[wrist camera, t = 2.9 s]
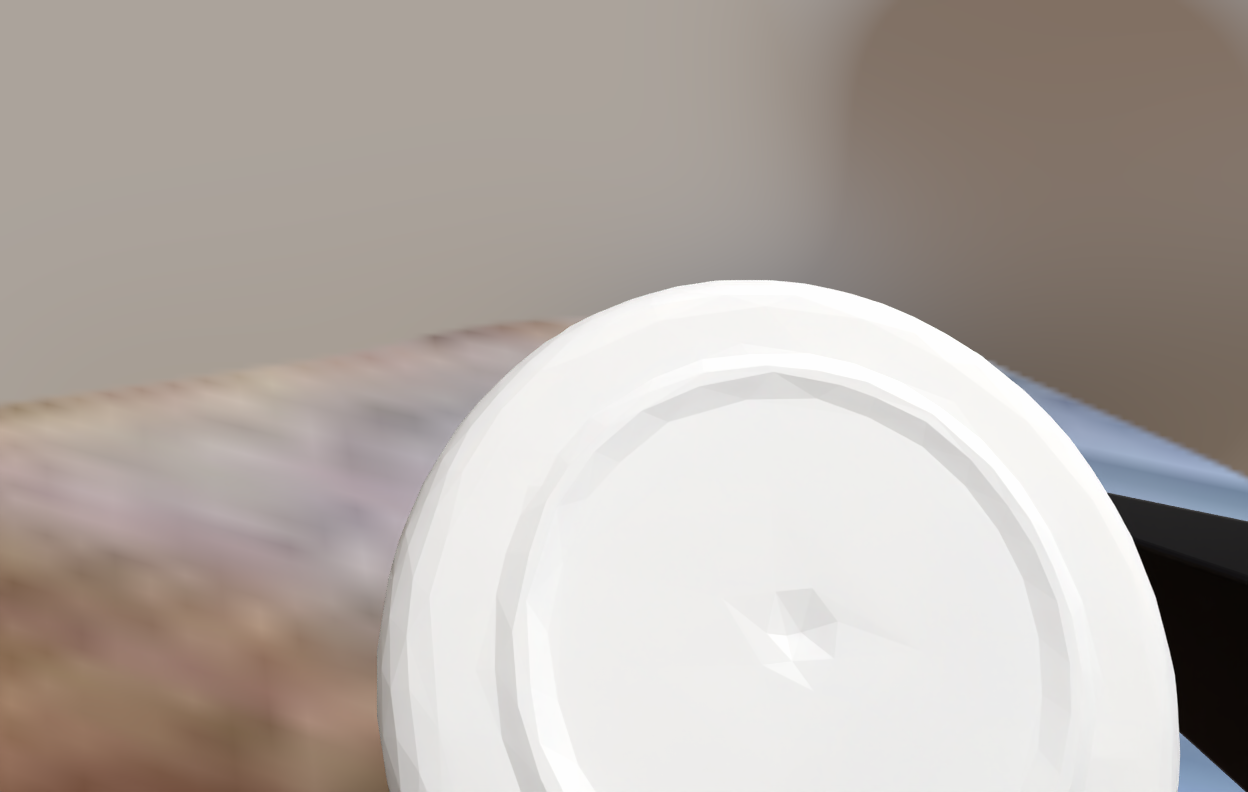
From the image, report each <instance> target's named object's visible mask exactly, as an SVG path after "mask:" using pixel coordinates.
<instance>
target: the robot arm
mask: <svg viewBox="0 0 1248 792" xmlns="http://www.w3.org/2000/svg"><path fill="white" fill-rule="evenodd" d="M1107 494H1108V496H1109V497H1110V499H1111V500H1112V502H1113V504H1114V505H1115V507H1116V509H1117V511H1118V513H1119V514H1120V516H1121V518H1122V520H1123V522H1124V524H1125V525H1126V527H1127V529H1128V531H1129V533H1130V535H1131V536H1132V538H1133V541H1134V544H1135V546H1136V549H1137V551H1138V554H1139V556H1140V559H1141V561H1142V564H1143V566H1144V569H1145V572H1146V574H1147V577H1148V579H1149V582H1150V584H1151V587H1152V589H1153V592H1154V595H1155V597H1156V601H1157V605H1158V608H1159V612H1160V616H1161V620H1162V624H1163V627H1164V631H1165V635H1166V639H1167V643H1168V647H1169V651H1170V655H1171V660H1172V664H1173V669H1174V673H1175V682H1176V692H1177V704H1178V723H1179V732H1180V733H1181V734H1182V735H1183V736H1184V737H1186V738H1187V739H1188V740H1189V741H1190V742H1191V743H1192V744H1193V745H1194V746H1196V747H1197V748H1198V749H1199V750H1200V751H1201V752H1202V753H1203V754H1204V755H1206V756H1207V757H1208V758H1209V759H1210V760H1211V761H1212V762H1213V763H1214V764H1216V765H1217V766H1218V767H1219V768H1220V769H1221V770H1222V771H1223V772H1224V773H1225V774H1227V775H1228V776H1229V777H1230V778H1231V779H1232V780H1233V781H1234V782H1235V783H1237V784H1238V785H1239V786H1240V787H1241V788H1242V789H1243V790H1244V791H1245V792H1248V521H1243V520H1238V519H1233V518H1229V517H1224V516H1219V515H1214V514H1209V513H1204V512H1199V511H1194V510H1190V509H1185V508H1180V507H1175V506H1170V505H1165V504H1160V503H1155V502H1151V501H1146V500H1141V499H1136V498H1131V497H1126V496H1121V495H1116V494H1112V493H1107Z"/></svg>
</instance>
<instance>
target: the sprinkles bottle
mask: <svg viewBox="0 0 1248 792" xmlns="http://www.w3.org/2000/svg"><path fill="white" fill-rule="evenodd" d="M377 719H378V725H379V732H380V738H381V745H382V751H383V758H384V764H385V771H386V777H387V783H388V787H389V791H390V792H1177V790H1178V784H1179V764H1180V742H1179V723H1178V704H1177V692H1176V682H1175V673H1174V669H1173V664H1172V660H1171V655H1170V651H1169V647H1168V643H1167V639H1166V635H1165V631H1164V627H1163V624H1162V620H1161V616H1160V612H1159V608H1158V605H1157V601H1156V597H1155V595H1154V592H1153V589H1152V587H1151V584H1150V582H1149V579H1148V577H1147V574H1146V572H1145V569H1144V566H1143V564H1142V561H1141V559H1140V556H1139V554H1138V551H1137V549H1136V546H1135V544H1134V541H1133V538H1132V536H1131V535H1130V533H1129V531H1128V529H1127V527H1126V525H1125V524H1124V522H1123V520H1122V518H1121V516H1120V514H1119V513H1118V511H1117V509H1116V507H1115V505H1114V504H1113V502H1112V500H1111V499H1110V497H1109V496H1108V494H1107V492H1106V491H1105V489H1104V488H1103V486H1102V484H1101V483H1100V481H1099V480H1098V478H1097V476H1096V475H1095V473H1094V472H1093V470H1092V469H1091V467H1090V466H1089V464H1088V463H1087V462H1086V460H1085V459H1084V457H1083V456H1082V455H1081V453H1080V452H1079V450H1078V449H1077V448H1076V446H1075V445H1074V443H1073V442H1072V441H1071V439H1070V438H1069V437H1068V436H1067V435H1066V434H1065V432H1064V431H1063V430H1062V429H1061V428H1060V427H1059V426H1058V425H1057V423H1056V422H1055V421H1054V420H1053V419H1052V418H1051V417H1050V416H1049V415H1048V414H1047V413H1046V412H1045V411H1044V410H1043V409H1042V408H1041V407H1040V406H1039V405H1038V404H1037V403H1036V402H1035V401H1034V400H1033V399H1032V398H1031V397H1030V396H1029V395H1028V394H1027V393H1026V392H1025V391H1024V390H1023V389H1021V388H1020V387H1019V386H1018V385H1016V384H1015V383H1014V382H1013V381H1012V380H1010V379H1009V378H1008V377H1007V376H1005V375H1004V374H1003V373H1002V372H1000V371H999V370H998V369H997V368H995V367H994V366H993V365H992V364H990V363H989V362H988V361H987V360H986V359H984V358H983V357H982V356H981V355H979V354H977V353H976V352H974V351H973V350H971V349H969V348H968V347H966V346H965V345H963V344H961V343H960V342H958V341H957V340H955V339H953V338H952V337H950V336H949V335H947V334H945V333H943V332H941V331H939V330H937V329H936V328H934V327H932V326H930V325H928V324H926V323H924V322H922V321H920V320H919V319H917V318H914V317H913V316H910V315H908V314H906V313H903V312H901V311H899V310H896V309H894V308H892V307H889V306H887V305H885V304H882V303H878V302H875V301H872V300H869V299H866V298H863V297H859V296H856V295H853V294H849V293H846V292H842V291H837V290H833V289H828V288H824V287H819V286H814V285H808V284H803V283H794V282H783V281H771V280H728V281H711V282H704V283H697V284H691V285H685V286H678V287H673V288H670V289H666V290H662V291H658V292H655V293H651V294H647V295H644V296H641V297H638V298H634V299H631V300H629V301H626V302H624V303H621V304H619V305H616V306H614V307H611V308H609V309H606V310H604V311H601V312H599V313H596V314H594V315H592V316H590V317H588V318H586V319H584V320H582V321H580V322H578V323H576V324H574V325H572V326H570V327H568V328H567V329H566V330H564V331H563V332H562V333H560V334H559V335H557V336H556V337H554V338H552V339H550V340H548V341H547V342H545V343H544V344H542V345H541V346H540V347H539V348H537V349H536V350H535V351H534V352H532V353H531V354H530V355H529V356H527V357H526V358H525V359H523V360H522V361H521V362H520V363H518V364H517V365H516V366H515V367H514V368H513V369H512V370H511V371H510V372H508V373H507V374H506V375H505V376H504V377H503V378H502V379H501V380H500V381H499V382H498V383H497V384H496V385H495V386H494V387H493V388H492V389H491V390H490V391H489V392H488V393H487V394H486V395H485V396H484V397H483V398H482V399H481V400H480V401H479V402H478V403H477V404H476V406H475V407H474V408H473V409H472V410H471V412H470V413H469V414H468V415H467V417H466V418H465V419H464V420H463V421H462V423H461V424H460V425H459V426H458V428H457V429H456V431H455V432H454V434H453V436H452V437H451V439H450V440H449V442H448V443H447V445H446V446H445V448H444V450H443V451H442V453H441V455H440V456H439V458H438V460H437V461H436V463H435V465H434V466H433V468H432V470H431V471H430V473H429V475H428V476H427V478H426V480H425V481H424V483H423V485H422V487H421V490H420V492H419V494H418V497H417V499H416V501H415V503H414V506H413V508H412V510H411V512H410V515H409V517H408V519H407V522H406V524H405V527H404V530H403V532H402V535H401V537H400V540H399V543H398V546H397V550H396V553H395V557H394V560H393V564H392V568H391V571H390V575H389V579H388V584H387V590H386V597H385V603H384V609H383V615H382V621H381V628H380V635H379V642H378V649H377Z"/></svg>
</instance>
